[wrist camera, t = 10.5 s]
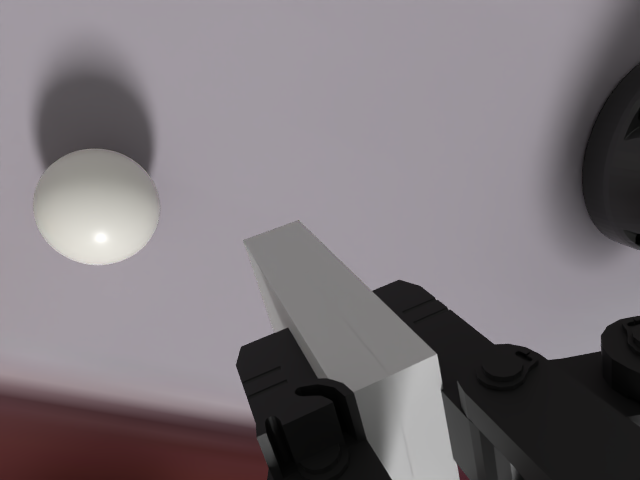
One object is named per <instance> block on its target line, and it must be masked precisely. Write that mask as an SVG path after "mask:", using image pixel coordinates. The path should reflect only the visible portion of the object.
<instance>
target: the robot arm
mask: <svg viewBox="0 0 640 480" xmlns="http://www.w3.org/2000/svg"><path fill="white" fill-rule="evenodd" d="M583 192H584V198H585V203H586V207H587V210H588V213H589V215H590V217H591V219H592V221H593V223H594V224H595V226H596V227H597V228H598V229H599V230H600V231H601V232H602V233H603V234H604V235H605V236H606V237H608V238H610V239H611V240H613V241H616V242H618V243H621V244H624V245H626V246H629V247H632V248H634V249H637V250H640V64H639V65H638V66H637V67H635V68H634V69H633V70H632V71H631V72H630V73H629V74H628V75H627V76H626V77H625V78H624V79H623V80H622V81H621V83H620V84H619V85H618V86H617V87H616V89H615V90H614V91H613V93H612V94H611V96H610V97H609V99H608V100H607V102H606V103H605V105H604V107H603V109H602V111H601V112H600V114H599V116H598V119H597V121H596V123H595V125H594V128H593V130H592V133H591V136H590V139H589V142H588V146H587V150H586V155H585V160H584V168H583ZM243 242H244V245H245V248H246V251H247V254H248V257H249V259H250V262H251V265H252V268H253V271H254V274H255V277H256V280H257V283H258V286H259V289H260V292H261V295H262V298H263V301H264V304H265V307H266V310H267V313H268V316H269V319H270V322H271V325H272V328H273V330H274V332H275V333H273V334H271V335H268V336H266V337H264V338H261V339H259V340H256V341H254V342H251V343H249V344H247V345H244V346H242V347H241V349H240V352H239V356H238V360H237V363H236V367H237V370H238V373H239V376H240V379H241V382H242V384H243V387H244V390H245V393H246V396H247V399H248V402H249V405H250V408H251V411H252V414H253V416H254V419H255V422H256V433H257V439H258V442H259V444H260V447H261V449H262V452H263V454H264V457H265V459H266V462H267V464H268V467H269V470H268V478H267V480H459V474H458V468H457V464H458V465H459V467H460V468H461V469H462V470H463V472H464V473H465V474H466V475H467V477H468V478H469V479H470V480H640V316H635V317H630V318H625V319H620V320H618V321H616V322H614V323H613V324H611V325H609V326H607V328H606V329H605V331H604V332H603V334H602V335H601V351H600V352H595V353H589V354H584V355H579V356H573V357H568V358H563V359H554V360H547V359H546V358H545V357H543V356H542V355H540V354H538V353H536V352H534V351H532V350H530V349H528V348H526V347H522V346H517V345H512V344H495V345H494V344H493V343H492V342H491V341H489V340H488V339H487V338H486V337H484V336H483V335H482V334H480V333H479V332H478V331H477V330H475V329H474V328H473V327H472V326H470V325H469V324H468V323H466V322H465V321H464V320H463V319H461V318H460V317H459V316H458V315H456V314H455V313H454V312H453V311H451V310H448V309H447V307H446V306H445V305H444V304H442V303H441V302H440V301H439V300H436V299H435V297H434V296H432V295H431V294H430V293H428V292H427V291H426V290H425V289H423V288H422V287H421V286H418V285H415V284H412V283H408V282H405V281H402V280H397V281H395V282H393V283H390V284H388V285H385V286H383V287H380V288H378V289H376V290H373V291H371V290H370V289H369V288H368V287H367V286H366V285H365V284H364V283H363V282H362V281H361V280H360V279H359V278H358V277H357V276H356V275H355V274H354V273H353V272H352V271H351V270H350V269H349V268H348V267H347V266H345V265H344V264H343V263H342V262H341V261H340V260H339V259H338V258H337V257H336V256H335V255H334V254H333V253H332V252H331V251H330V250H329V249H328V248H327V247H326V246H325V245H324V244H323V243H322V242H321V241H320V240H319V239H318V238H317V237H316V236H314V235H313V234H312V233H311V232H310V231H309V230H308V229H307V228H306V227H305V226H304V225H303V224H302V223H301V222H300V221H299V220H298V221H295V222H292V223H289V224H287V225H284V226H281V227H278V228H276V229H273V230H270V231H267V232H265V233H262V234H259V235H256V236H254V237H251V238H248V239H245V240H243Z"/></svg>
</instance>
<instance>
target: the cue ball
mask: <svg viewBox="0 0 640 480" xmlns="http://www.w3.org/2000/svg"><path fill="white" fill-rule="evenodd" d="M33 211H34V217H35V221H36V224H37V227H38V229H39V231H40V233H41V234H42V236H43V238H44V239H45V240H46V241H47V243H48V244H49V245H50V246H51V247H53V248H54V249H55V250H56V251H57V252H59V253H60V254H61V255H63V256H65V257H67V258H69V259H71V260H74V261H76V262H80V263H84V264H90V265H107V264H112V263H117V262H120V261H122V260H125V259H127V258H129V257H131V256H133V255H134V254H136V253H137V252H139V251H140V250H141V249H142V248H143V247H144V246H145V245H146V244H147V243H148V242H149V240H150V239H151V237H152V236H153V234H154V232H155V230H156V227H157V225H158V221H159V216H160V201H159V195H158V192H157V189H156V187H155V185H154V182H153V181H152V179H151V177H150V176H149V174H148V173H147V172H146V171H145V170H144V169H143V168H142V167H141V166H140V165H139V164H138V163H136V162H135V161H134V160H132V159H131V158H129V157H127V156H125V155H123V154H121V153H118V152H115V151H111V150H107V149H83V150H79V151H75V152H72V153H69V154H67V155H65V156H63V157H61V158H59V159H58V160H57V161H55V162H54V163H53V164H52V165H51V166H50V167H49V168H48V169H47V170H46V171H45V172H44V174H43V175H42V176H41V178H40V180H39V182H38V184H37V186H36V189H35V193H34V198H33Z"/></svg>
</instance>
